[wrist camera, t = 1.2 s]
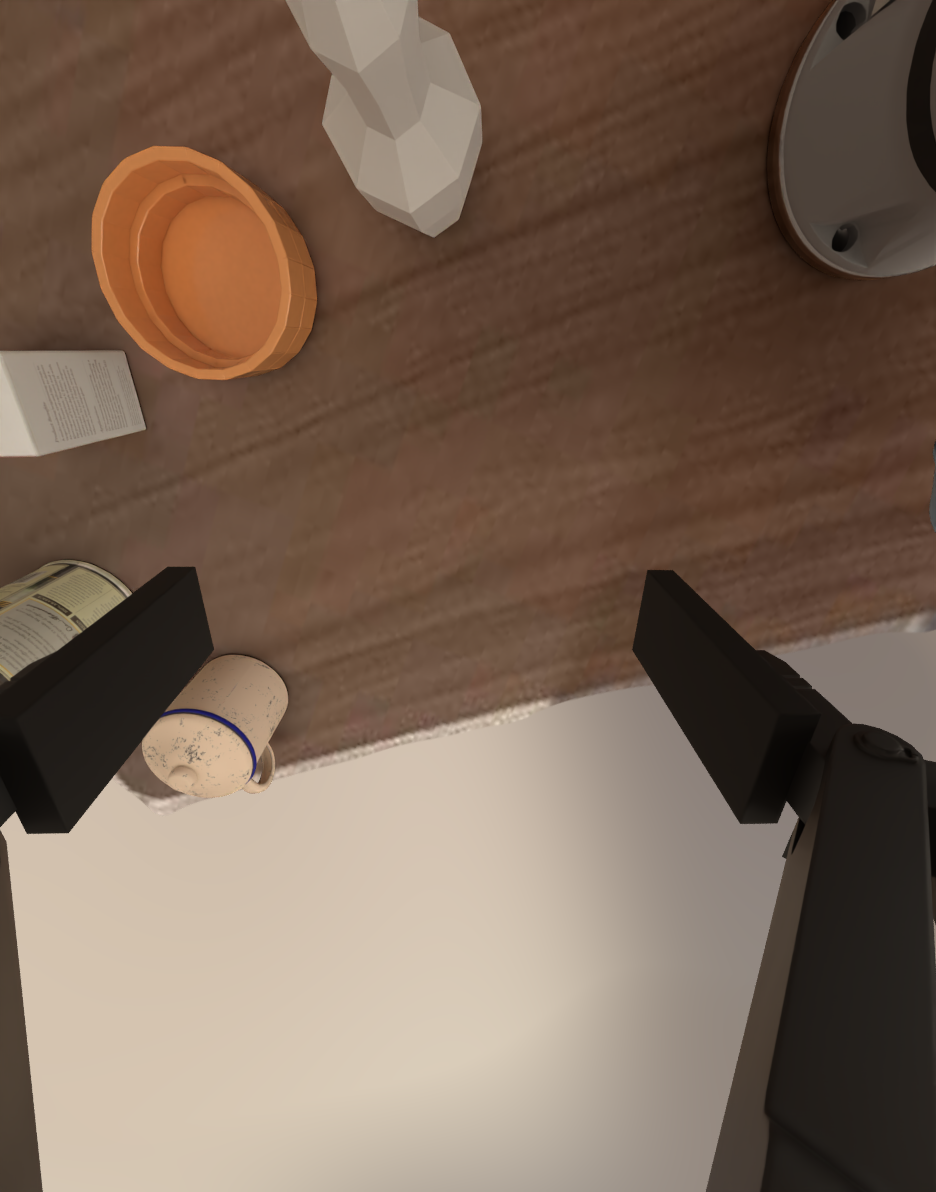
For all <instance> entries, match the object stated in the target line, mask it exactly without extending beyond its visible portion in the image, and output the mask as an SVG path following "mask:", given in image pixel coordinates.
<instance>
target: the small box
mask: <svg viewBox="0 0 936 1192" xmlns="http://www.w3.org/2000/svg"><path fill="white" fill-rule="evenodd" d="M144 430H146V426H145V423H144V419H143V416H142V412H141V408H140V405H139V401H138V398H137V394H136V391H135V387H134V384H133V380H132V377H131V373H130V370H129V366H128V362H127V359H126V355H125V352H124V351H122V350H86V351H0V457H40V456H44V455H48V454H52V453H56V452H60V451H64V450H68V449H72V448H76V447H80V446H83V445H87V444H91V443H94V442H99V441H103V440H107V439H111V438H115V437H119V436H123V435H127V434H131V433H135V432H139V431H144Z"/></svg>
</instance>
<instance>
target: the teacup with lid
mask: <svg viewBox="0 0 936 1192" xmlns="http://www.w3.org/2000/svg"><path fill="white" fill-rule="evenodd" d="M287 705H288V693H287V689H286V686H285V684H284V682H283V681H282V679H281V678H280V676H279V675H278V674H277V673H276V672H275V671H274V670H273V669H272V668H270V667H269V666H268V665H266V664H265V663H263V662H261V661H259V660H257V659H254V658H251V657H248V656H243V655H225V656H221V657H218V658H216V659H213V660H212V661H210V662H209V663H208V664H206V665H205V666H204V667H203V669H202V670H201V671H200V672H199V673H198V674H197V675H196V676H195V678H194V679H193V680H192V681H191V682H190V683H189V684H188V685H187V687H186V688H185V689H184V690H183V691H182V692H181V693H180V694H179V696H178V697H177V698H176V699H175V700H174V701H173V702H172V703H171V705H170V706H169V707H168V708H167V709H166V711H165V712H164V713H163V715H162V716H161V717H160V718H159V720H158V721H157V722H156V723H155V725H154V726H153V727H152V728H151V730H150V731H149V732H148V733H147V735H146V736H145V737H144V738H143V741H142V750H143V755H144V758H145V761H146V763H147V765H148V766H149V768H150V769H151V770H152V772H153V773H154V774H155V775H156V776H157V777H158V778H159V779H160V780H162V781H163V782H164V783H166V784H167V785H169V786H170V787H171V788H173V789H174V790H177V791H180V792H183V793H186V794H189V795H193V796H197V797H205V798H215V797H222V796H226V795H229V794H232V793H234V792H236V791H238V790H239V789H241V788H242V789H243V790H244V791H246V792H248V793H251V794H255V793H260V792H262V791H264V790H266V789H267V788H268V787H269V785H270V784H271V782H272V779H273V776H274V771H275V758H274V753H273V751H272V748H271V746H270V745H269V743H268V742H269V740H270V738H271V736H272V735H273V733H274V731H275V729H276V728H277V726H278V724H279V722H280V720H281V719H282V717H283V715H284V713H285V711H286V709H287ZM260 756H261V759H262V774H261V778H260V780H259V782H258V783H256V782H255V781H254V780H253V779H252V777H253V775H254V772H255V769H256V763H257V762H258V760H259V758H260Z"/></svg>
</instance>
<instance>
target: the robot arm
mask: <svg viewBox="0 0 936 1192" xmlns="http://www.w3.org/2000/svg"><path fill="white" fill-rule="evenodd" d="M767 178H768V189H769V195H770V201H771V205H772V209H773V212H774V215H775V218H776V221H777V223H778V226H779V228H780V230H781V232H782V234H783V236H784V237H785V239H786V240H787V242H788V243H789V245H790V246H791V247H792V249H793V250H794V251H795V252H796V253H797V254H798V255H799V256H800V257H801V258H802V259H803V260H804V261H806V262H807V263H808V264H810V265H811V266H813V267H814V268H816V269H817V270H820V271H822V272H824V273H826V274H828V275H832V276H835V277H838V278H843V279H849V280H875V279H881V278H888V277H894V276H899V275H905V274H909V273H913V272H917V271H921V270H923V269H926V268H929V267H932V266H934V265H936V0H832V1H831V3H830V4H829V5H828V6H827V8H826V9H825V10H824V12H823V13H822V14H821V16H820V17H819V18H818V20H817V21H816V23H815V24H814V26H813V27H812V29H811V30H810V32H809V33H808V35H807V37H806V38H805V40H804V42H803V44H802V45H801V47H800V49H799V51H798V53H797V55H796V57H795V59H794V61H793V63H792V65H791V67H790V69H789V71H788V74H787V76H786V79H785V81H784V84H783V86H782V89H781V92H780V95H779V98H778V101H777V104H776V108H775V112H774V116H773V120H772V125H771V130H770V136H769V144H768V154H767ZM933 458H934V462H935V473H934V480H933V488H932V495H931V501H930V512H929V514H930V519H931V524H932V526H933V528H934V531H935V532H936V441H935V444H934V450H933ZM213 650H214V647H213V643H212V639H211V634H210V630H209V625H208V621H207V617H206V612H205V608H204V604H203V599H202V595H201V590H200V586H199V582H198V577H197V573H196V569H195V567H167V568H165V569H164V570H163V571H162V572H160V573H159V574H158V575H156V576H155V577H154V578H152V579H151V580H150V581H148V582H147V583H146V584H144V585H143V586H142V587H140V588H139V589H138V590H136V591H135V592H134V593H133V594H131V595H130V596H129V597H127V598H126V599H125V600H123V601H122V602H121V603H119V604H118V605H117V606H115V607H114V608H113V609H111V610H110V611H109V612H107V613H106V614H105V615H104V616H102V617H101V618H100V619H98V620H97V621H96V622H94V623H93V624H92V625H90V626H89V627H88V628H86V629H85V630H84V631H82V632H81V633H80V634H79V635H77V636H76V637H75V638H73V639H72V640H71V641H69V642H68V643H67V644H65V645H64V646H63V647H61V648H60V649H59V650H57V651H56V652H53V653H51V654H49V655H47V656H45V657H43V658H41V659H39V660H37V661H35V662H32V663H30V664H29V665H27V666H26V667H25V668H23V669H22V670H21V671H19V672H18V673H17V674H15V675H14V676H13V677H11V678H10V681H6V682H4V683H3V684H2V685H0V827H1V826H2V825H3V824H4V822H5V821H7V819H8V818H9V817H10V816H11V815H12V814H13V813H14V812H15V811H16V813H17V815H18V817H19V819H20V821H21V823H22V825H23V827H24V829H25V831H26V833H27V834H42V833H69V832H70V831H71V829H72V828H73V826H75V824H76V823H77V822H78V820H79V819H80V818H81V817H82V815H83V814H84V813H85V812H86V810H87V809H88V808H89V806H90V805H91V804H92V803H93V801H94V800H95V799H96V798H97V796H98V795H99V794H100V793H101V791H102V790H103V789H104V787H105V786H106V785H107V784H108V783H109V781H110V780H111V779H112V778H113V776H114V775H115V774H116V773H117V771H118V770H119V769H120V767H121V766H122V765H123V764H124V762H125V761H126V760H127V759H128V757H129V756H130V755H131V754H132V752H133V751H134V750H135V749H136V747H137V746H138V745H139V744H140V742H141V741H142V740H143V738H144V737H145V736H146V735H147V733H148V732H149V731H150V730H151V728H152V727H153V726H154V725H155V723H156V722H157V721H158V720H159V718H160V717H161V716H162V715H163V713H164V712H165V711H166V709H167V708H168V707H169V706H170V704H171V703H172V702H173V701H174V699H175V698H176V697H177V696H178V694H179V693H180V692H181V691H182V689H183V688H184V687H185V685H186V684H187V683H188V682H189V680H190V679H191V678H192V677H193V675H194V674H195V673H196V672H197V670H198V669H199V668H200V667H201V665H202V664H203V663H204V662H205V660H206V659H207V658H208V656H209V655H210V654H211V653H212V651H213ZM632 650H633V652H634V653H635V655H636V657H637V658H638V660H639V661H640V663H641V665H642V666H643V668H644V669H645V671H646V673H647V674H648V676H649V677H650V679H651V681H652V682H653V684H654V686H655V687H656V689H657V690H658V692H659V694H660V695H661V697H662V698H663V700H664V702H665V703H666V705H667V706H668V708H669V710H670V711H671V713H672V714H673V716H674V718H675V719H676V721H677V723H678V724H679V726H680V727H681V729H682V731H683V732H684V734H685V735H686V737H687V739H688V740H689V742H690V744H691V745H692V747H693V748H694V750H695V752H696V753H697V755H698V756H699V758H700V760H701V761H702V763H703V765H704V766H705V767H706V769H707V771H708V773H709V774H710V776H711V777H712V779H713V781H714V782H715V784H716V785H717V787H718V789H719V790H720V792H721V793H722V795H723V797H724V798H725V800H726V802H727V803H728V805H729V806H730V808H731V810H732V811H733V813H734V815H735V816H736V818H737V819H738V821H739V822H740V824H761V823H762V824H764V823H766V824H767V823H778V820H779V818H780V816H781V812H782V811H783V808H784V806H785V803H786V801H787V802H788V803H789V804H790V806H791V807H792V808H793V809H794V811H795V812H796V814H797V815H798V816H799V818H798V821H797V823H796V825H795V828H794V830H793V832H792V835H791V837H790V840H789V842H788V844H787V847H786V849H785V851H784V854H783V856H782V857H784V858H786V863H785V867H784V871H783V876H782V879H781V884H780V888H779V892H778V896H777V900H776V905H775V908H774V912H773V917H772V921H771V925H770V929H769V933H768V938H767V941H766V945H765V950H764V954H763V958H762V962H761V967H760V970H759V974H758V979H757V983H756V987H755V991H754V996H753V999H752V1004H751V1008H750V1012H749V1016H748V1020H747V1024H746V1028H745V1033H744V1036H743V1040H742V1045H741V1049H740V1053H739V1057H738V1061H737V1065H736V1069H735V1073H734V1078H733V1082H732V1086H731V1090H730V1095H729V1098H728V1103H727V1107H726V1111H725V1115H724V1119H723V1123H722V1127H721V1132H720V1136H719V1140H718V1144H717V1148H716V1152H715V1156H714V1161H713V1164H712V1169H711V1173H710V1177H709V1181H708V1185H707V1189H706V1192H936V964H935V945H934V923H933V919H934V921H935V924H936V762H932V761H927V760H924V759H923V757H922V755H921V754H920V753H919V752H918V751H917V750H916V749H915V748H914V747H913V746H912V745H911V744H909V743H907V742H906V741H904V740H903V739H901V738H899V737H898V736H896V735H894V734H891V733H889V732H887V731H884V730H882V729H880V728H876V727H872V726H868V725H864V724H852V723H851V722H850V721H849V720H848V719H847V718H846V717H845V716H844V715H842V713H840V712H839V711H838V710H837V709H836V708H835V707H834V706H833V705H832V704H831V703H830V702H828V701H827V700H826V699H825V698H824V697H823V696H822V695H821V694H820V693H818V692H817V691H816V690H815V689H812V686H811V685H810V684H809V683H808V682H807V681H805V680H804V679H803V678H800V675H799V674H798V673H797V672H796V671H794V670H793V669H792V668H791V667H790V666H789V665H788V664H787V663H786V662H784V661H783V660H781V659H779V658H777V657H775V656H774V655H772V654H770V653H768V652H766V651H765V650H755V649H754V648H753V647H752V646H751V645H750V644H749V643H747V642H746V641H745V640H744V639H743V638H742V637H741V636H740V635H739V634H738V633H737V632H736V631H735V630H734V629H733V628H732V627H731V626H730V625H729V624H728V623H727V622H726V621H725V620H724V619H723V618H722V617H721V616H720V615H719V614H717V613H716V612H715V611H714V610H713V609H712V608H711V607H710V606H709V605H708V604H707V603H706V602H705V601H704V600H703V599H702V598H701V597H700V596H699V595H698V594H697V593H696V592H695V591H694V590H693V589H692V588H691V587H690V586H689V585H687V584H686V583H685V582H684V581H683V580H682V579H681V578H680V577H679V576H678V575H677V574H676V573H675V572H674V571H673V570H647V575H646V580H645V586H644V591H643V596H642V601H641V607H640V612H639V617H638V623H637V628H636V633H635V638H634V644H633V649H632ZM0 1192H43V1190H42V1180H41V1171H40V1161H39V1152H38V1142H37V1133H36V1123H35V1113H34V1103H33V1093H32V1084H31V1075H30V1064H29V1055H28V1045H27V1036H26V1026H25V1016H24V1007H23V997H22V987H21V979H20V968H19V958H18V949H17V939H16V930H15V920H14V910H13V901H12V891H11V881H10V872H9V863H8V852H7V844H6V840H5V838H4V836H3V835H2V833H1V831H0Z"/></svg>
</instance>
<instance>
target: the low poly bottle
mask: <svg viewBox="0 0 936 1192" xmlns="http://www.w3.org/2000/svg"><path fill="white" fill-rule="evenodd" d="M286 2H287V4H288V6H289V8H290V10H291V12H292V14H293V16H294V17H295V19H296V21H297V23H298V25H299V27H300V29H301V31H302V33H303V35H304V37H305V39H306V41H307V42H308V44H309V46H310V48H311V50H312V51H313V52H314V53H315V54H316V55H317V57H318V58H319V59H320V60H321V61H322V62H323V64H324V65H325V66H326V67H327V68H328V69H329V70H330V72H331V73H332V76H331V81H330V86H329V91H328V96H327V101H326V106H325V111H324V116H323V121H322V125H323V127H324V129H325V131H326V132H327V134H328V136H329V138H330V140H331V142H332V144H333V145H334V147H335V149H336V151H337V153H338V155H339V157H340V158H341V160H342V162H343V164H344V166H345V168H346V170H347V171H348V173H349V175H350V177H351V179H352V181H353V183H354V184H355V186H356V188H357V189H358V190H359V192H360V193H361V194H362V195H363V196H364V197H365V199H366V200H367V201H368V202H369V203H370V204H371V206H372V207H373V208H374V209H375V210H376V211H378V212H380V213H382V214H384V215H386V216H388V217H390V218H392V219H395V220H397V221H399V222H401V223H403V224H405V225H407V226H409V227H412V228H414V229H416V230H418V231H420V232H422V233H424V234H427V235H429V236H431V237H436V236H437V235H438V234H440V233H441V232H443V231H444V230H445V229H447V228H448V227H449V226H451V225H452V224H454V223H455V222H456V221H458V220H459V218H460V214H461V211H462V208H463V205H464V202H465V199H466V196H467V192H468V189H469V186H470V183H471V179H472V176H473V172H474V169H475V166H476V162H477V159H478V155H479V152H480V149H481V145H482V122H481V105H480V103H479V100H478V98H477V96H476V93H475V91H474V89H473V86H472V84H471V82H470V79H469V77H468V75H467V73H466V70H465V68H464V66H463V63H462V61H461V59H460V56H459V54H458V52H457V49H456V47H455V45H454V42H453V40H452V38H451V35H450V33H448V32H446V31H445V30H443V29H441V28H439V27H437V26H435V25H433V24H431V23H430V22H428V21H426V20H424V19H422V18H420V17H418V2H417V0H286Z"/></svg>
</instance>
